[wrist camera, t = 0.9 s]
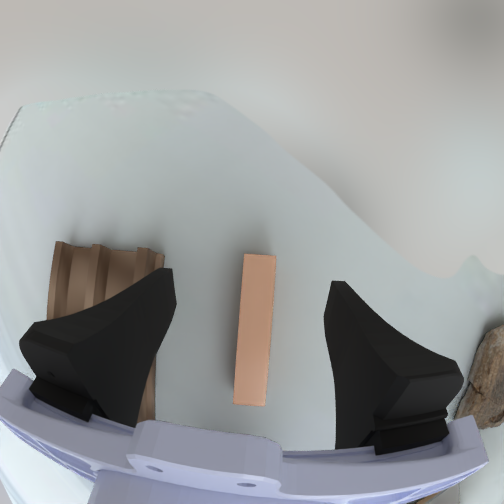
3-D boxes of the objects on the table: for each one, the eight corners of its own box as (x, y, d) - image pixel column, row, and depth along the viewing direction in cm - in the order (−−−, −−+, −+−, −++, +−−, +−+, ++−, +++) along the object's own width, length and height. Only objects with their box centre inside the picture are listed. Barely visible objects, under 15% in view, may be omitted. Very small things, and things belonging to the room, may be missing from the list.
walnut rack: (155, 432, 22) (144, 445, 19) (62, 402, 22) (46, 408, 19) (164, 255, 26) (153, 248, 23) (69, 247, 26) (52, 241, 23)
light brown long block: (263, 392, 23) (264, 406, 19) (236, 390, 23) (232, 404, 19) (273, 264, 26) (276, 255, 22) (246, 262, 26) (244, 253, 22)
